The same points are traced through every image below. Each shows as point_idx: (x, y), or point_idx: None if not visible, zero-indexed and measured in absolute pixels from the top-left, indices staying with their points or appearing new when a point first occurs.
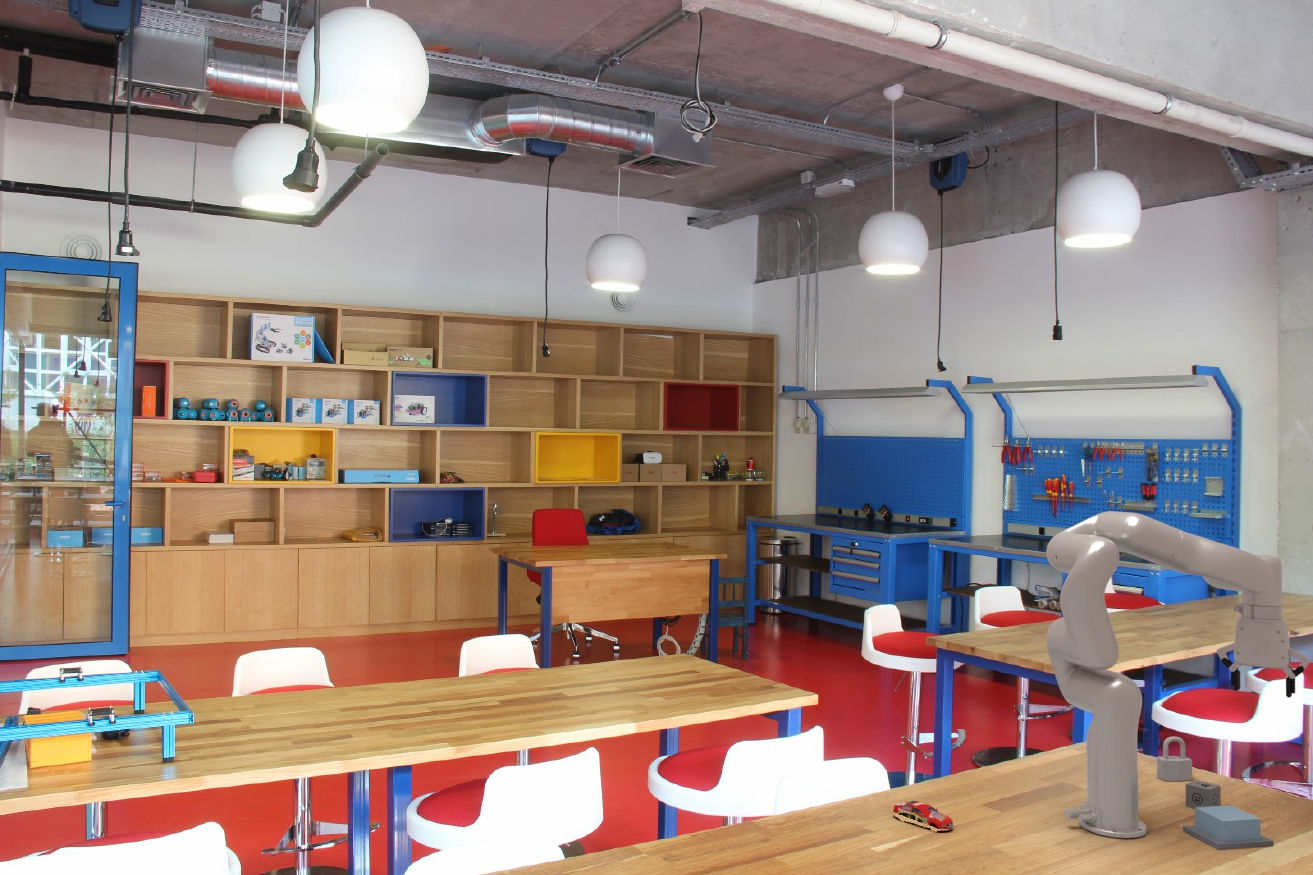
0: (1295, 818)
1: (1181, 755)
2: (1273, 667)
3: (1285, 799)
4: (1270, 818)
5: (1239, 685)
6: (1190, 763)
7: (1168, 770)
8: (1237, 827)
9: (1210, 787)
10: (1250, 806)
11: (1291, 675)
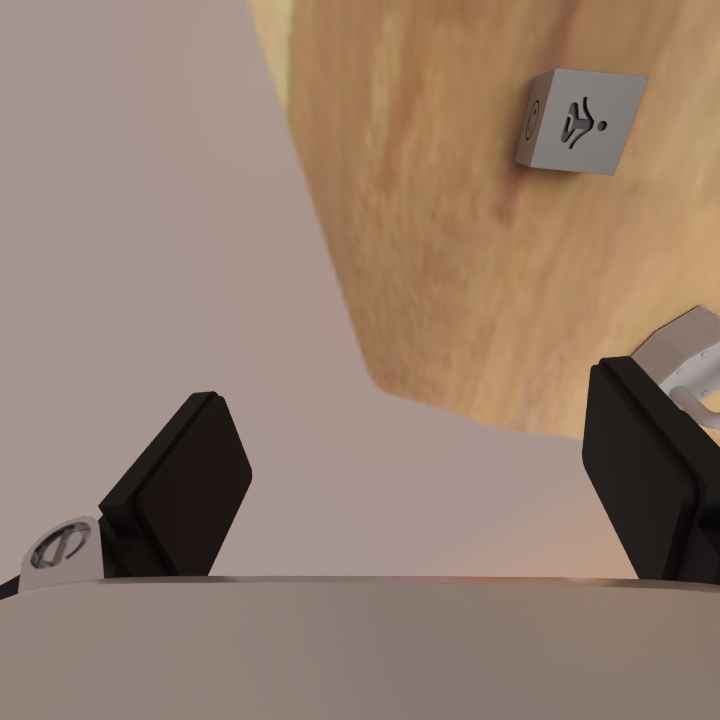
0: (340, 233)
1: (687, 392)
2: (133, 581)
3: (402, 365)
4: (384, 180)
5: (597, 449)
6: None
7: (704, 324)
8: None
9: (556, 110)
10: (451, 249)
11: (66, 552)
